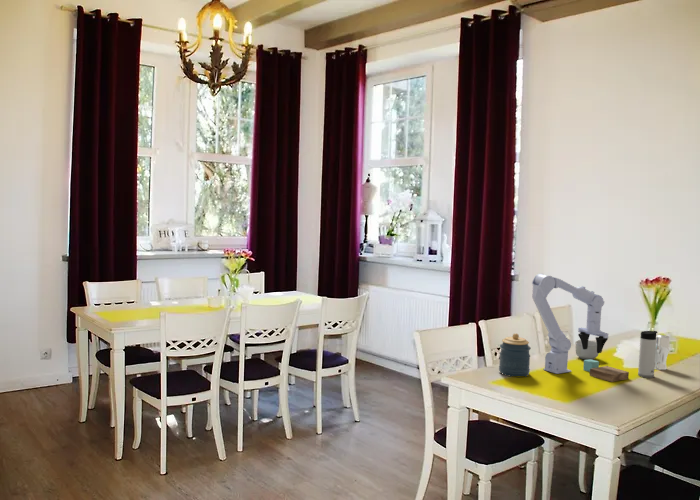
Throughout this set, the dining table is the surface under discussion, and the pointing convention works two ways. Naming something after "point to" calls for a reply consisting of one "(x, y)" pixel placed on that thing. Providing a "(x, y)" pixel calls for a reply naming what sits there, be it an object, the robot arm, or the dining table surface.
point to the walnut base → (609, 373)
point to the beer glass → (661, 352)
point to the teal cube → (590, 364)
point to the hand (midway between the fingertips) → (592, 351)
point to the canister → (514, 356)
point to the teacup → (586, 350)
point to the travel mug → (647, 354)
